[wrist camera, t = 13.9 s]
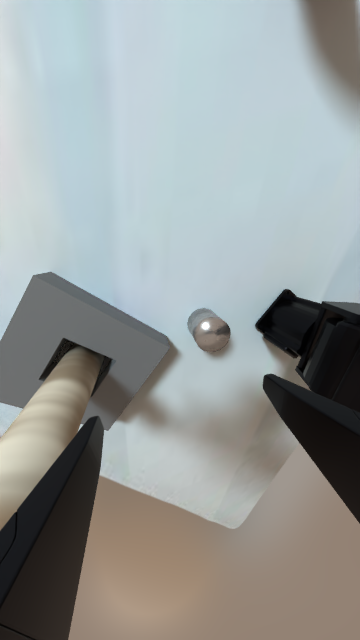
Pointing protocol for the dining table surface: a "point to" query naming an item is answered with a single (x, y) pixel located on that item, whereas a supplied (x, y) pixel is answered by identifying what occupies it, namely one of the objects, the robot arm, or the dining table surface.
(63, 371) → the birch pin
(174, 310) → the dining table surface
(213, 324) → the steel stub
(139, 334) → the plate
